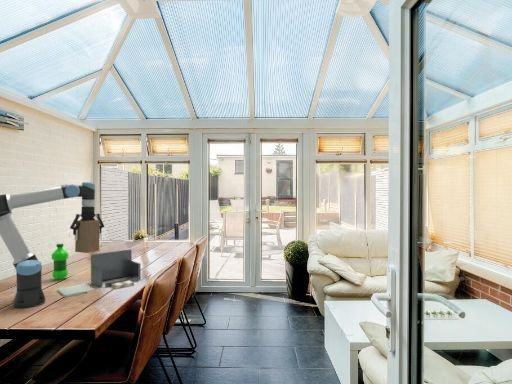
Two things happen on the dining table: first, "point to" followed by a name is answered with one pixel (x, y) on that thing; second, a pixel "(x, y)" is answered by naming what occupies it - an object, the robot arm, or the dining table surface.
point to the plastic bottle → (59, 262)
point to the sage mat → (75, 290)
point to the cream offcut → (122, 284)
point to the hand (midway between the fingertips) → (87, 239)
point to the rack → (114, 267)
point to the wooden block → (87, 236)
